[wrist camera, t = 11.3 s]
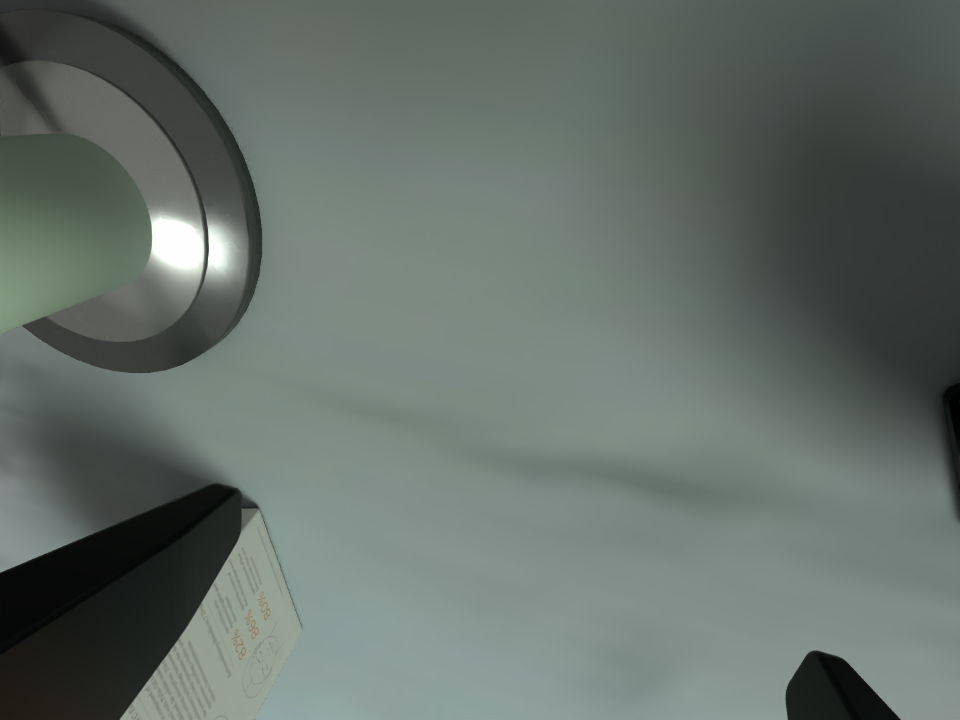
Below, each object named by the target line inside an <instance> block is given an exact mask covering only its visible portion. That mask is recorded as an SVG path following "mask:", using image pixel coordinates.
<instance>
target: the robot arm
mask: <svg viewBox="0 0 960 720" xmlns="http://www.w3.org/2000/svg"><path fill="white" fill-rule="evenodd" d="M959 400H960V383H959V384H956V385H954V386H952V387H950V388H949V389H948V390H946V392H945V393H944V395H943V406H944V411H945V416H946V421H947V426H948V431H949V436H950V441H951V446H952V451H953V456H954V461H955V466H956V471H957V476H958V482H959V487H960V404H958V401H959ZM241 528H242V494H241V492H240V490H239V489H237V488H234V487H231V486H227V485H223V484H220V483H215V484H211V485H209V486H206V487H204V488H201V489H199V490H197V491H194V492H192V493H189V494H187V495H185V496H182V497H180V498H177V499H175V500H173V501H170V502H168V503H166V504H163V505H161V506H158V507H156V508H154V509H151V510H149V511H146V512H144V513H142V514H139V515H137V516H135V517H132V518H130V519H127V520H125V521H123V522H120V523H118V524H115V525H113V526H111V527H108V528H106V529H103V530H101V531H99V532H96V533H94V534H92V535H89V536H87V537H84V538H82V539H80V540H77V541H75V542H72V543H70V544H68V545H65V546H63V547H61V548H58V549H56V550H53V551H51V552H49V553H46V554H44V555H41V556H39V557H37V558H34V559H32V560H29V561H27V562H25V563H22V564H20V565H18V566H15V567H13V568H10V569H8V570H6V571H3V572H1V573H0V720H120V719H121V717H122V716H123V715H124V713H125V712H126V711H127V709H128V708H129V707H130V705H131V704H132V702H133V701H134V700H135V698H136V697H137V696H138V694H139V693H140V691H141V690H142V689H143V687H144V686H145V685H146V683H147V682H148V681H149V679H150V678H151V676H152V675H153V674H154V672H155V671H156V670H157V668H158V667H159V665H160V664H161V663H162V661H163V660H164V659H165V657H166V656H167V655H168V653H169V652H170V650H171V649H172V648H173V646H174V645H175V644H176V642H177V641H178V639H179V638H180V637H181V635H182V634H183V632H184V631H185V629H186V628H187V626H188V625H189V623H190V621H191V620H192V618H193V617H194V615H195V613H196V612H197V610H198V608H199V607H200V605H201V603H202V601H203V600H204V598H205V596H206V595H207V593H208V591H209V590H210V588H211V586H212V584H213V583H214V581H215V579H216V578H217V576H218V574H219V572H220V571H221V569H222V567H223V566H224V564H225V562H226V561H227V559H228V557H229V555H230V554H231V552H232V550H233V549H234V547H235V545H236V543H237V542H238V539H239V537H240V534H241ZM786 708H787V716H788V720H901V719H900V718H899V717H898V716H897V715H896V714H895V713H894V712H893V711H892V710H891V709H890V708H889V707H888V705H887V704H886V703H885V702H884V701H883V700H882V699H881V698H880V697H879V696H878V695H877V694H876V693H875V692H874V691H873V689H872V688H871V687H870V686H869V685H868V684H867V683H866V682H865V681H864V680H863V679H862V678H861V677H860V676H859V674H858V673H857V672H856V671H855V670H854V669H853V668H852V667H851V666H850V665H849V664H848V663H847V662H846V661H845V660H844V659H842V658H840V657H838V656H835V655H831V654H828V653H824V652H821V651H811V652H809V653H808V654H807V655H806V657H805V658H804V660H803V661H802V663H801V665H800V666H799V668H798V669H797V671H796V673H795V674H794V676H793V677H792V679H791V680H790V682H789V684H788V687H787V690H786Z"/></svg>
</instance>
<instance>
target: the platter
mask: <svg viewBox="0 0 960 720" xmlns="http://www.w3.org/2000/svg"><path fill="white" fill-rule="evenodd" d="M49 133H66V134H71V135H76V136H79V137H82V138H85V139H87V140H89V141H91V142H93V143H95V144H97V145H98V146H100V147H101V148H103V149H104V150H106V151H107V152H108V153H109V154H111V155H112V156H113V157H114V158H115V159H116V160H117V161H118V162H119V163H120V164H121V165H122V166H123V167H124V168H125V169H126V171H127V172H128V173H129V174H130V176H131V177H132V179H133V180H134V182H135V183H136V185H137V186H138V188H139V190H140V192H141V194H142V196H143V198H144V201H145V203H146V205H147V209H148V212H149V215H150V220H151V225H152V248H151V254H150V257H149V260H148V263H147V265H146V267H145V268H144V270H143V271H142V273H141V274H140V275H139V276H138V277H137V278H136V279H135V280H134V281H132V282H131V283H129V284H128V285H125V286H123V287H120V288H118V289H115V290H112V291H110V292H107V293H105V294H102V295H99V296H97V297H94V298H92V299H89V300H87V301H84V302H81V303H79V304H76V305H74V306H71V307H68V308H66V309H63V310H61V311H58V312H55V313H53V314H50V315H48V316H45V317H42V318H40V319H37V320H35V321H32V322H29V323H27V324H24V325H22V326H23V327H24V328H26V329H27V330H28V331H30V332H31V333H32V334H34V335H35V336H36V337H38V338H39V339H40V340H42V341H44V342H45V343H47V344H48V345H50V346H52V347H53V348H55V349H57V350H58V351H60V352H62V353H64V354H66V355H68V356H71V357H73V358H75V359H77V360H79V361H82V362H85V363H88V364H90V365H93V366H96V367H100V368H104V369H108V370H112V371H120V372H128V373H151V372H157V371H163V370H168V369H171V368H174V367H177V366H180V365H183V364H185V363H187V362H188V361H190V360H192V359H194V358H196V357H198V356H199V355H201V354H203V353H204V352H206V351H207V350H209V349H211V348H212V347H213V346H215V345H216V344H217V343H219V342H220V341H221V340H223V339H224V338H225V337H226V336H227V335H228V334H229V333H230V332H231V331H232V330H233V329H234V327H235V326H236V325H237V324H238V322H239V321H240V319H241V318H242V316H243V315H244V313H245V312H246V310H247V308H248V306H249V303H250V301H251V299H252V297H253V294H254V291H255V288H256V284H257V281H258V277H259V272H260V264H261V257H262V228H261V220H260V212H259V206H258V202H257V197H256V193H255V189H254V185H253V182H252V179H251V176H250V173H249V171H248V168H247V165H246V162H245V159H244V157H243V155H242V153H241V151H240V149H239V147H238V145H237V143H236V141H235V138H234V136H233V135H232V133H231V131H230V130H229V128H228V126H227V125H226V123H225V122H224V120H223V118H222V117H221V115H220V113H219V112H218V111H217V109H216V108H215V107H214V105H213V104H212V103H211V101H210V100H209V99H208V97H207V96H206V95H205V93H204V92H203V91H202V90H201V89H200V88H199V87H198V85H197V84H196V83H195V82H194V81H193V80H192V79H191V78H190V77H189V76H188V75H187V74H186V73H185V72H184V71H183V70H182V69H181V68H180V67H179V66H178V65H176V64H175V63H174V62H173V61H172V60H171V59H169V58H168V57H167V56H166V55H165V54H163V53H162V52H161V51H159V50H158V49H156V48H155V47H153V46H152V45H150V44H149V43H147V42H146V41H144V40H143V39H141V38H140V37H138V36H136V35H134V34H132V33H130V32H128V31H126V30H124V29H122V28H120V27H118V26H115V25H112V24H109V23H106V22H104V21H101V20H98V19H95V18H90V17H84V16H79V15H73V14H68V13H62V12H56V11H50V10H18V11H12V12H6V13H1V14H0V136H13V135H31V134H49Z"/></svg>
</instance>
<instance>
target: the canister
mask: <svg viewBox="0 0 960 720" xmlns="http://www.w3.org/2000/svg"><path fill="white" fill-rule="evenodd" d="M151 248H152V225H151V220H150V215H149V212H148V209H147V205H146V203H145V201H144V198H143V196H142V194H141V192H140V190H139V188H138V186H137V185H136V183H135V182H134V180H133V179H132V177H131V176H130V174H129V173H128V172H127V171H126V169H125V168H124V167H123V166H122V165H121V164H120V163H119V162H118V161H117V160H116V159H115V158H114V157H113V156H112V155H111V154H109V153H108V152H107V151H106V150H104V149H103V148H101V147H100V146H98V145H97V144H95V143H93V142H91V141H89V140H87V139H85V138H82V137H79V136H76V135H71V134H66V133H49V134H31V135H13V136H0V334H1V333H3V332H6V331H9V330H11V329H14V328H16V327H19V326H22V325H24V324H27V323H29V322H32V321H35V320H37V319H40V318H42V317H45V316H48V315H50V314H53V313H55V312H58V311H61V310H63V309H66V308H68V307H71V306H74V305H76V304H79V303H81V302H84V301H87V300H89V299H92V298H94V297H97V296H99V295H102V294H105V293H107V292H110V291H112V290H115V289H118V288H120V287H123V286H125V285H128V284H129V283H131V282H132V281H134V280H135V279H136V278H137V277H138V276H139V275H140V274H141V273H142V271H143V270H144V268H145V267H146V265H147V263H148V260H149V257H150V254H151Z"/></svg>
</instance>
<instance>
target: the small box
mask: <svg viewBox="0 0 960 720" xmlns="http://www.w3.org/2000/svg"><path fill="white" fill-rule="evenodd" d="M301 633H302V627H301V625H300V622H299V619H298V616H297V614H296V611H295V608H294V605H293V603H292V600H291V597H290V594H289V591H288V588H287V585H286V583H285V580H284V577H283V574H282V571H281V568H280V566H279V563H278V560H277V557H276V554H275V551H274V549H273V546H272V543H271V541H270V538H269V535H268V532H267V530H266V527H265V524H264V521H263V518H262V515H261V512H260V510H259V509H258V508H250V509H242V528H241V534H240V537H239V539H238V542H237V543H236V545H235V547H234V549H233V550H232V552H231V554H230V555H229V557H228V559H227V561H226V562H225V564H224V566H223V567H222V569H221V571H220V572H219V574H218V576H217V578H216V579H215V581H214V583H213V584H212V586H211V588H210V590H209V591H208V593H207V595H206V596H205V598H204V600H203V601H202V603H201V605H200V607H199V608H198V610H197V612H196V613H195V615H194V617H193V618H192V620H191V621H190V623H189V625H188V626H187V628H186V629H185V631H184V632H183V634H182V635H181V637H180V638H179V639H178V641H177V642H176V644H175V645H174V646H173V648H172V649H171V650H170V652H169V653H168V655H167V656H166V657H165V659H164V660H163V661H162V663H161V664H160V665H159V667H158V668H157V670H156V671H155V672H154V674H153V675H152V676H151V678H150V679H149V681H148V682H147V683H146V685H145V686H144V687H143V689H142V690H141V691H140V693H139V694H138V696H137V697H136V698H135V700H134V701H133V702H132V704H131V705H130V707H129V708H128V709H127V711H126V712H125V713H124V715H123V716H122V717H121V719H120V720H254V719H255V717H256V716H257V714H258V712H259V710H260V708H261V706H262V705H263V703H264V701H265V699H266V697H267V695H268V693H269V692H270V690H271V688H272V686H273V684H274V683H275V681H276V679H277V677H278V675H279V673H280V672H281V670H282V668H283V666H284V664H285V662H286V660H287V659H288V657H289V655H290V653H291V651H292V650H293V648H294V646H295V644H296V642H297V640H298V639H299V637H300V635H301Z"/></svg>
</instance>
